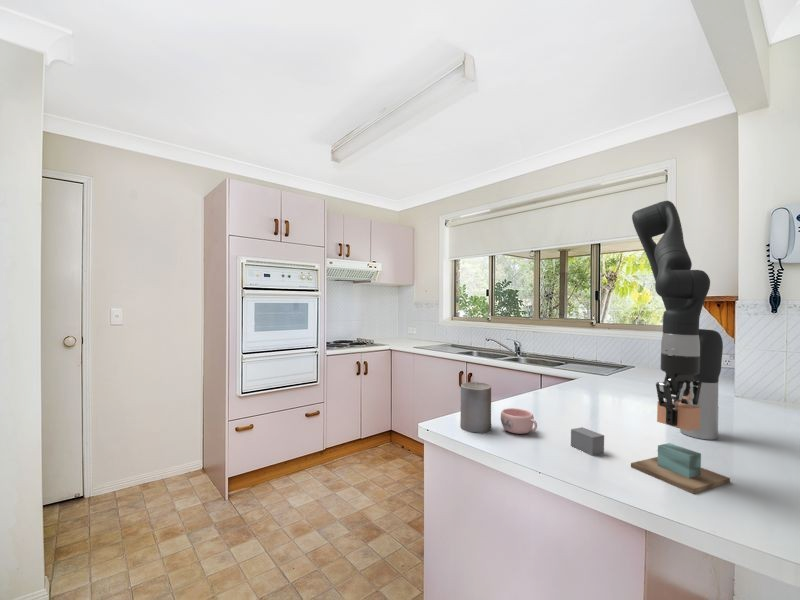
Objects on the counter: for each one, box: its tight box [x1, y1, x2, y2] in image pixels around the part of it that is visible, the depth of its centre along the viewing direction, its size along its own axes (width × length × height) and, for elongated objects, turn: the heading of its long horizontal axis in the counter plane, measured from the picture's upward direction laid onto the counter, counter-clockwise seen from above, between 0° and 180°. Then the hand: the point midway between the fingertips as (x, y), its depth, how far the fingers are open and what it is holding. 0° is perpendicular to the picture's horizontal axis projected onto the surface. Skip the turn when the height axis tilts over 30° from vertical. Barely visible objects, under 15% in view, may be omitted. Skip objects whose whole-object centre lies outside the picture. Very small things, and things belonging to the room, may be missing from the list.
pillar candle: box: [459, 381, 492, 434], centre depth 121 cm, size 10×10×15 cm
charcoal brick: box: [570, 427, 605, 457], centre depth 105 cm, size 4×7×5 cm, turn 24°
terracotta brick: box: [656, 400, 701, 431], centre depth 91 cm, size 4×7×5 cm, turn 23°
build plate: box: [630, 442, 731, 495], centre depth 91 cm, size 14×14×6 cm
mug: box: [500, 407, 538, 435], centre depth 118 cm, size 12×10×6 cm
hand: (678, 423), depth 91 cm, fingers closed on terracotta brick, 4 cm apart
